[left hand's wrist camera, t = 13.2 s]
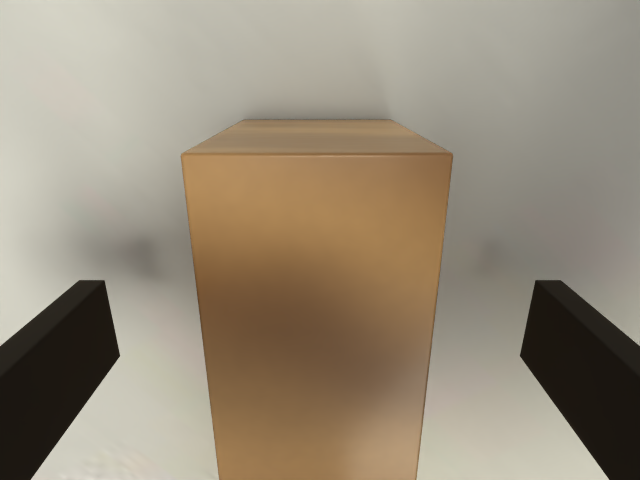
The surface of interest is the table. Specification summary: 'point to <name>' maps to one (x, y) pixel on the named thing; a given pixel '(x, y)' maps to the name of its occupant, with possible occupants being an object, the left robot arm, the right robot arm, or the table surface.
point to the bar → (317, 293)
